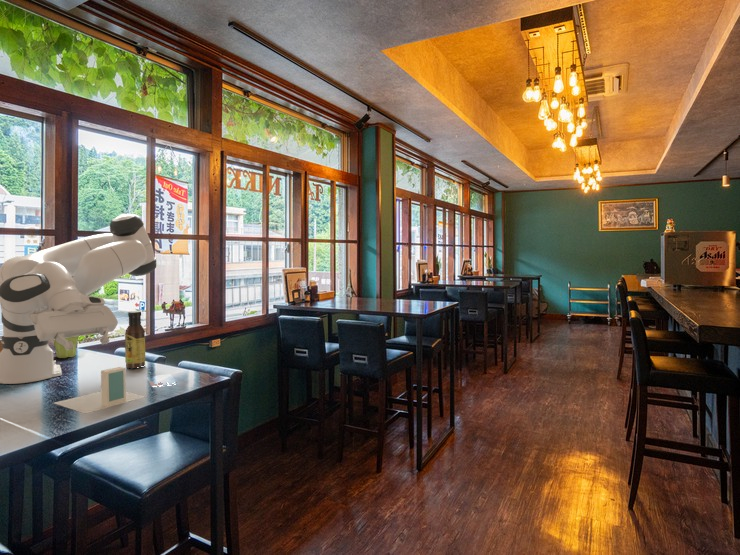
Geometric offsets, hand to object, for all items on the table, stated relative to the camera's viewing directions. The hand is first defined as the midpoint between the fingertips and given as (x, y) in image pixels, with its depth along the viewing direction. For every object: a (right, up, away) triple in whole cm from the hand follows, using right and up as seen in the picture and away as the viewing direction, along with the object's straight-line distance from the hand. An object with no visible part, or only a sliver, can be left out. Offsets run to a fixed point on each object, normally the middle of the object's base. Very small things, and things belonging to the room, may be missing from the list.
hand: (88, 345), depth 127 cm
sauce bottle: (-5, -13, +36) cm, 38 cm away
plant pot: (-42, -13, +54) cm, 69 cm away
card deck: (+10, -14, -6) cm, 18 cm away
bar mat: (+5, -15, -3) cm, 16 cm away
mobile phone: (+12, -14, +17) cm, 26 cm away
